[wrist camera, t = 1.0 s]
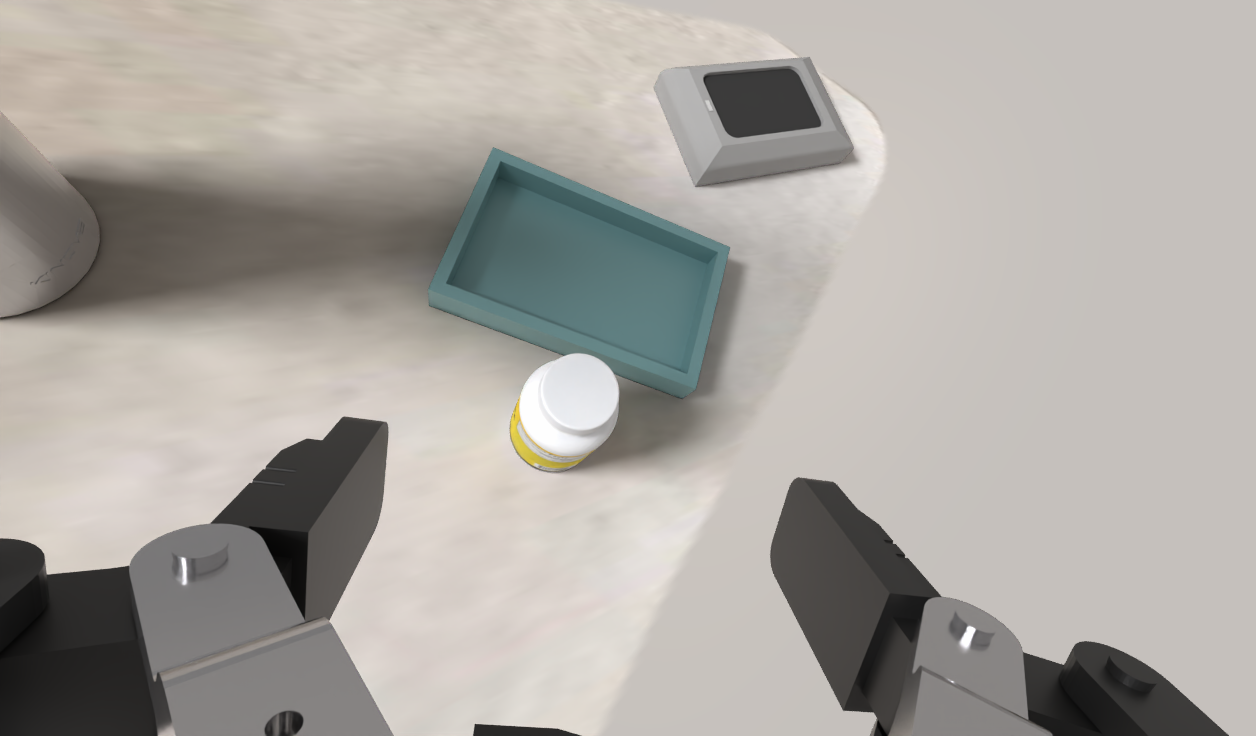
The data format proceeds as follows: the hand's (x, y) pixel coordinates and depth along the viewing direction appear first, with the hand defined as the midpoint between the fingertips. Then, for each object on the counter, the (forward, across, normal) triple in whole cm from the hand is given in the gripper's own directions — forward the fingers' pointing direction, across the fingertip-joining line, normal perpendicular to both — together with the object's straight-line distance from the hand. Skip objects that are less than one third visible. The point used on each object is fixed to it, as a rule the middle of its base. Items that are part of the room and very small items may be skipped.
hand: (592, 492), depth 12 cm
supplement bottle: (+25, 0, +10) cm, 27 cm away
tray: (+32, -1, +2) cm, 32 cm away
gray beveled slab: (+44, -14, -11) cm, 48 cm away
